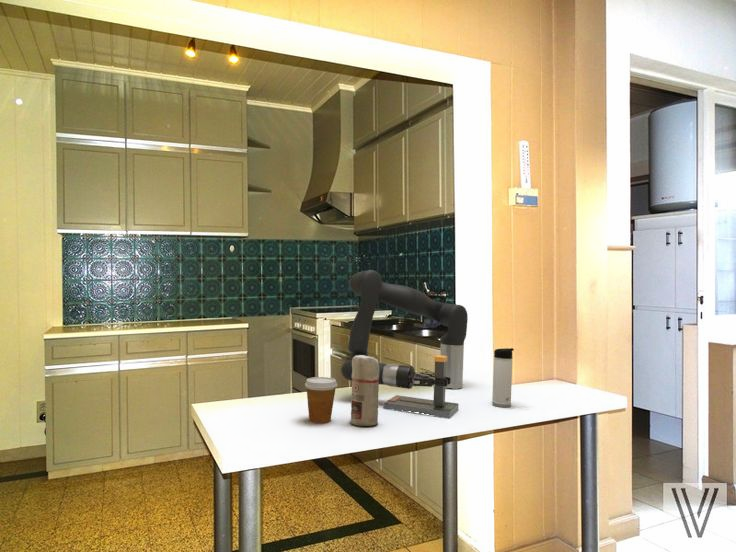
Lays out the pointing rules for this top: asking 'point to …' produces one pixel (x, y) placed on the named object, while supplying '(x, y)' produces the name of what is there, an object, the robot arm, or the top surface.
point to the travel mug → (502, 377)
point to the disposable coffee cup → (320, 398)
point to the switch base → (421, 406)
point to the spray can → (364, 391)
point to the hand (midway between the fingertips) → (448, 382)
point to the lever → (440, 373)
